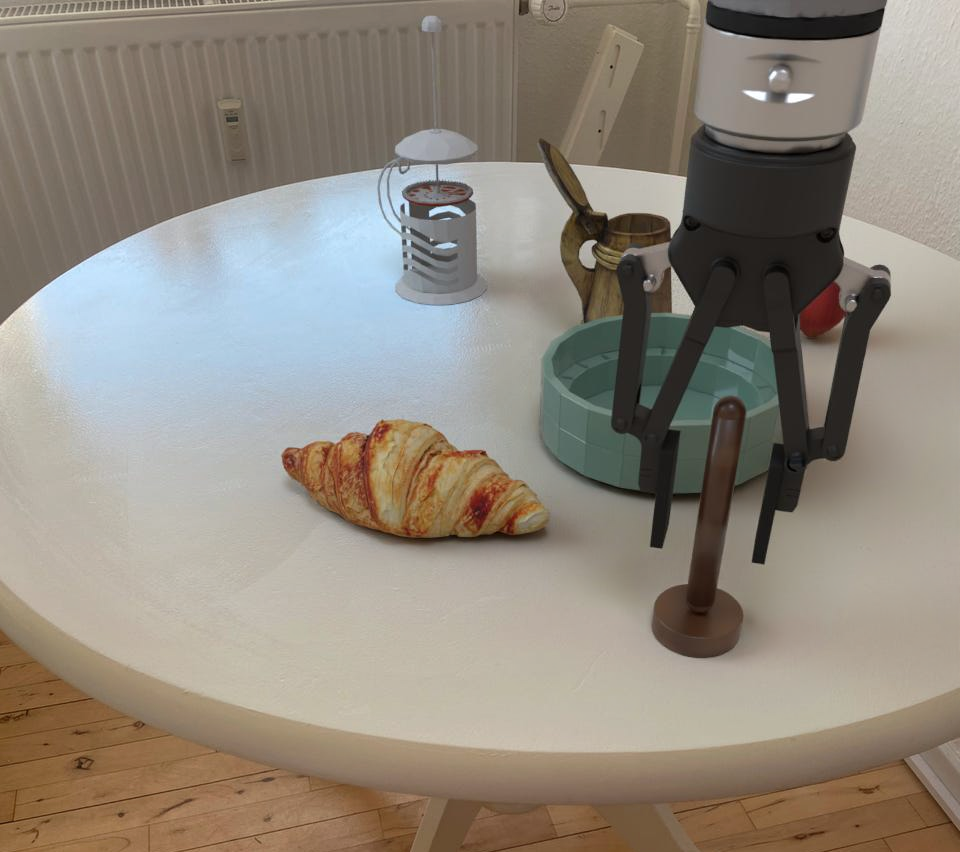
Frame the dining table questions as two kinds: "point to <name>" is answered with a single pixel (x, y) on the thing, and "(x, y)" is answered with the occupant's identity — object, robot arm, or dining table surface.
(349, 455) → the croissant
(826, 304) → the onion
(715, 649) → the wooden paper towel stand
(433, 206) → the french press
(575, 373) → the bowl
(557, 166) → the wooden mug
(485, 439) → the dining table surface
